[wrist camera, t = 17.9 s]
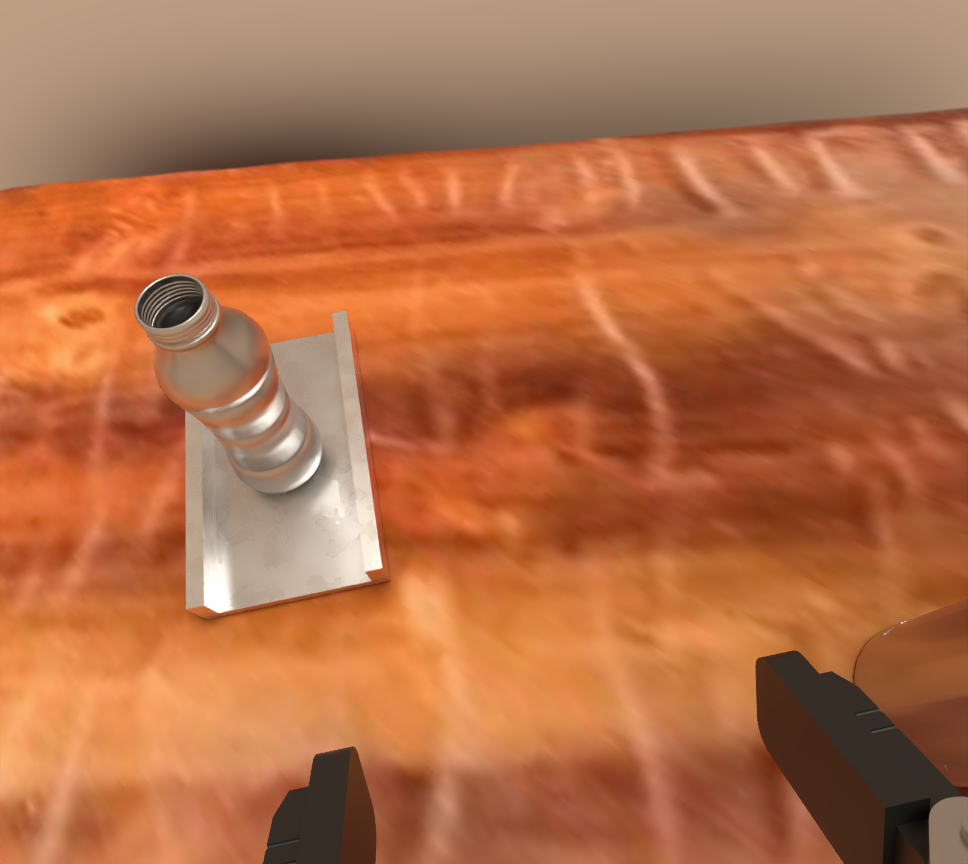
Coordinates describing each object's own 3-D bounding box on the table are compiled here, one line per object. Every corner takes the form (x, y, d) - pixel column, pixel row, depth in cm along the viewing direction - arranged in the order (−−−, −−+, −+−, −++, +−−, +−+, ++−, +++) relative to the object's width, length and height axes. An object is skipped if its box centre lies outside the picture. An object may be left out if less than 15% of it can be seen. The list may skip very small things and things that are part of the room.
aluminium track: (390, 580, 48) (382, 568, 45) (207, 619, 47) (186, 609, 44) (355, 335, 58) (346, 310, 55) (202, 363, 57) (185, 340, 54)
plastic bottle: (226, 466, 52) (77, 308, 34) (293, 409, 54) (186, 231, 36) (279, 519, 50) (150, 381, 32) (347, 457, 52) (261, 295, 34)
